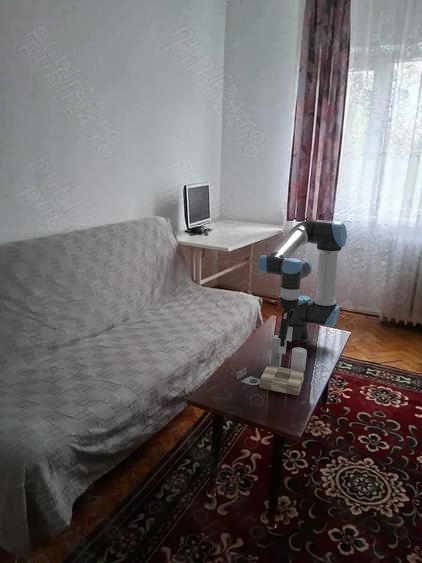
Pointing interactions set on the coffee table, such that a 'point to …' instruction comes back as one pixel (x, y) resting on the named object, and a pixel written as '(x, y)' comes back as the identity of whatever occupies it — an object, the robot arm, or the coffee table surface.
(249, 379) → the bracket
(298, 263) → the robot arm
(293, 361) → the plastic dowel
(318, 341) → the coffee table surface
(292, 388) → the socket block
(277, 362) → the grey long block
